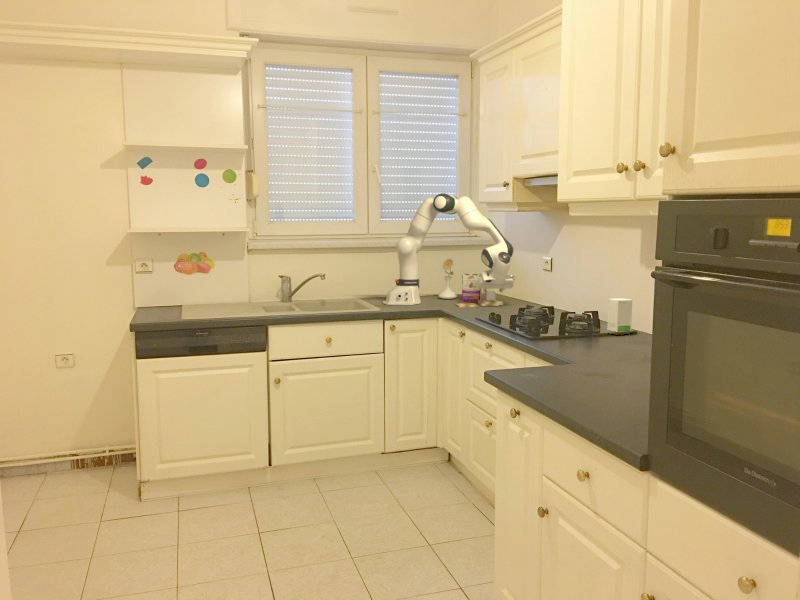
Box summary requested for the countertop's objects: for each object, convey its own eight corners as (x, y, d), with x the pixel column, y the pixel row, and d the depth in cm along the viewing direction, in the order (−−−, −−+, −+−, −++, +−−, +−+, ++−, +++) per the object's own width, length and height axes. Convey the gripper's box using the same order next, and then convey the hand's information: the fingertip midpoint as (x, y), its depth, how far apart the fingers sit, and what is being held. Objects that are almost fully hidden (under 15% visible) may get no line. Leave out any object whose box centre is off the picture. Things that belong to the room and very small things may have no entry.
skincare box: (616, 336, 285) (617, 300, 283) (605, 333, 291) (607, 298, 289) (631, 335, 288) (633, 299, 286) (620, 332, 294) (622, 297, 292)
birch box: (480, 305, 378) (480, 301, 378) (477, 304, 385) (477, 300, 385) (502, 305, 380) (503, 301, 380) (499, 303, 387) (499, 299, 387)
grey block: (486, 305, 381) (486, 291, 380) (485, 304, 383) (485, 291, 382) (495, 305, 382) (495, 291, 381) (493, 304, 384) (494, 290, 383)
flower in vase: (435, 298, 414) (436, 257, 411) (452, 297, 417) (453, 257, 414) (443, 300, 401) (443, 259, 398) (460, 299, 405) (461, 258, 402)
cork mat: (459, 307, 373) (459, 306, 373) (454, 304, 385) (454, 303, 384) (479, 306, 374) (479, 306, 374) (474, 304, 386) (474, 303, 386)
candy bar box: (481, 300, 401) (482, 273, 399) (480, 301, 396) (480, 274, 394) (463, 300, 404) (463, 273, 402) (461, 301, 400) (462, 273, 397)
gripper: (515, 271, 370) (509, 287, 380) (479, 271, 367) (474, 287, 377) (517, 280, 366) (511, 295, 377) (481, 280, 363) (476, 296, 374)
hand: (492, 291), depth 377 cm, fingers open, 8 cm apart
